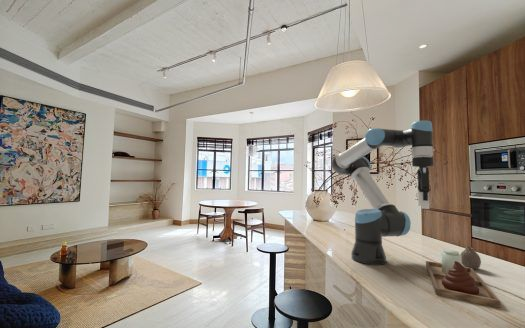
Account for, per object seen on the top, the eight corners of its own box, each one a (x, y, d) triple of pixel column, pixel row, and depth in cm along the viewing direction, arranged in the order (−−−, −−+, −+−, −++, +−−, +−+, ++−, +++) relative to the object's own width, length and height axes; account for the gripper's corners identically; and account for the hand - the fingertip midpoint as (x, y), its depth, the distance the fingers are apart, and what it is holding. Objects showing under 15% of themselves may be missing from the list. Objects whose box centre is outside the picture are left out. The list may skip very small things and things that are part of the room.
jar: (443, 274, 94) (442, 251, 94) (440, 269, 99) (440, 247, 100) (463, 278, 91) (463, 254, 91) (460, 272, 96) (459, 250, 97)
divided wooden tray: (435, 294, 79) (435, 288, 79) (425, 265, 106) (425, 260, 106) (500, 308, 71) (500, 301, 71) (471, 272, 98) (471, 268, 98)
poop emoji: (441, 289, 81) (440, 261, 82) (442, 281, 88) (441, 255, 89) (480, 298, 75) (479, 268, 76) (478, 289, 82) (477, 261, 82)
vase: (485, 271, 100) (484, 250, 100) (466, 270, 101) (465, 249, 102) (474, 265, 107) (473, 246, 107) (456, 264, 108) (456, 245, 108)
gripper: (437, 154, 88) (439, 211, 87) (429, 159, 110) (430, 205, 109) (413, 154, 92) (415, 209, 91) (410, 159, 114) (411, 204, 112)
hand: (423, 207), depth 100 cm, fingers open, 13 cm apart
